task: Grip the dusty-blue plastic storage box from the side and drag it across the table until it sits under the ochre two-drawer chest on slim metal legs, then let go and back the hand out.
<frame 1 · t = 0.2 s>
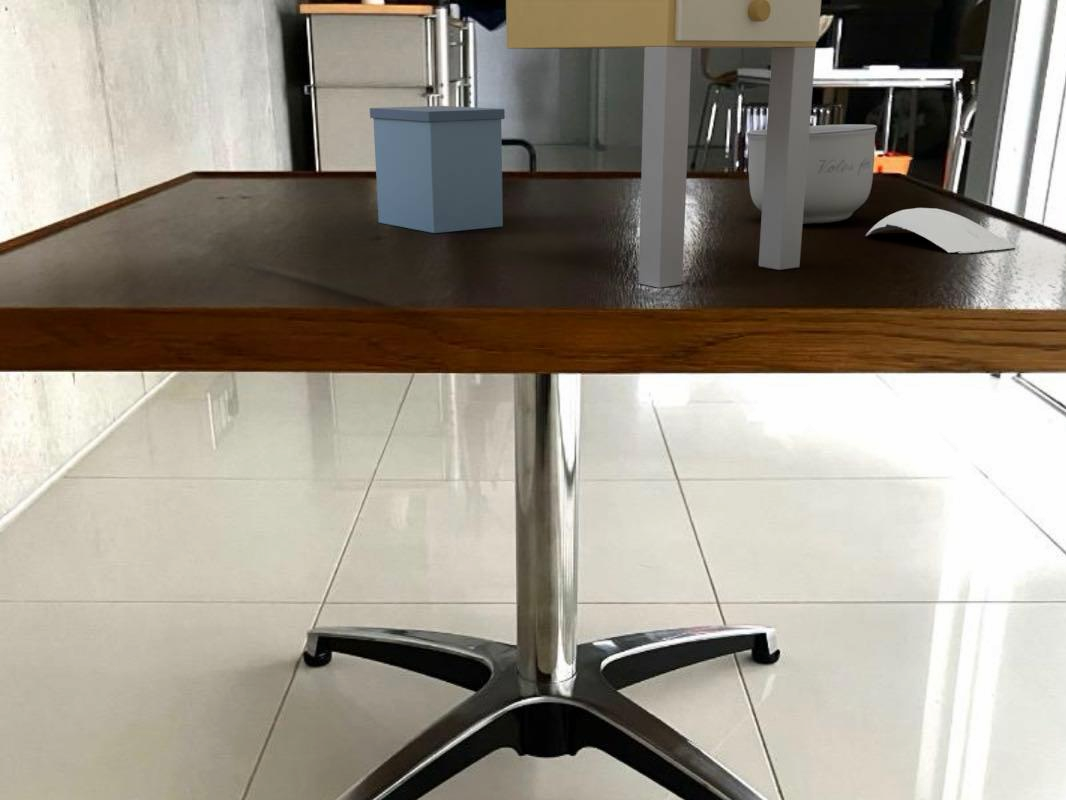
drawer chest: (650, 262, 86), on the table
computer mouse: (937, 244, 95), on the table
teacup: (813, 221, 108), on the table
storage box: (439, 224, 106), on the table
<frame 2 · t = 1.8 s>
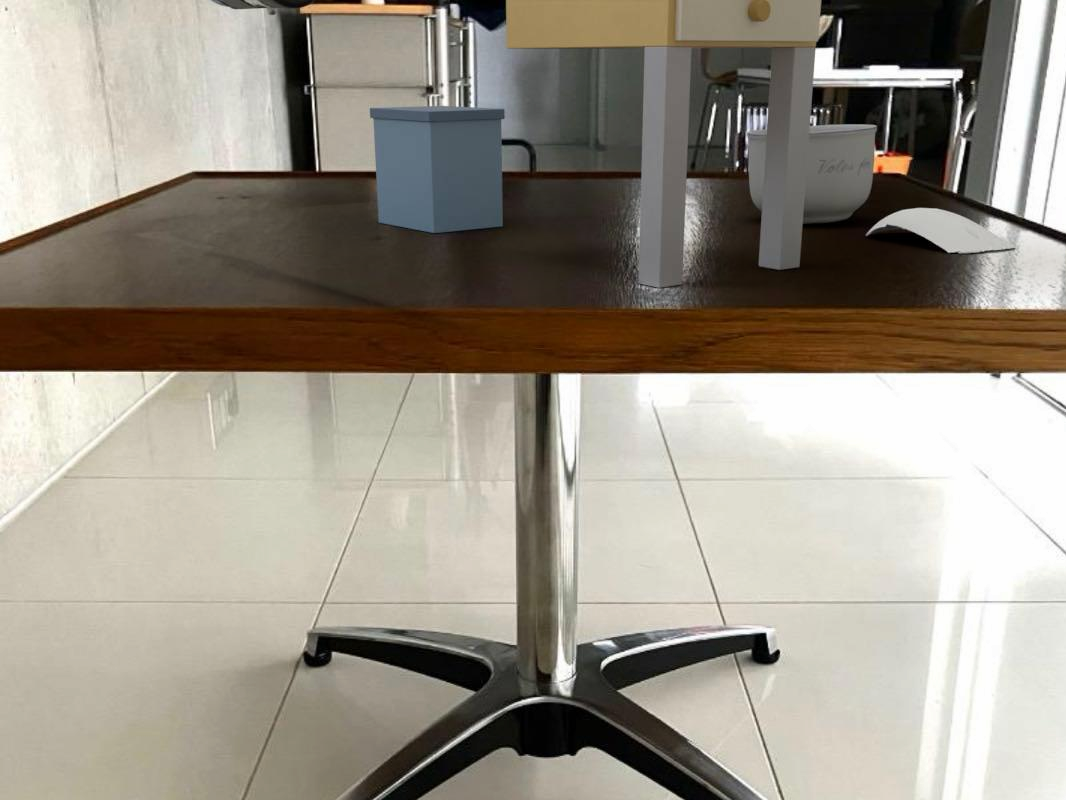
nothing on the table moved.
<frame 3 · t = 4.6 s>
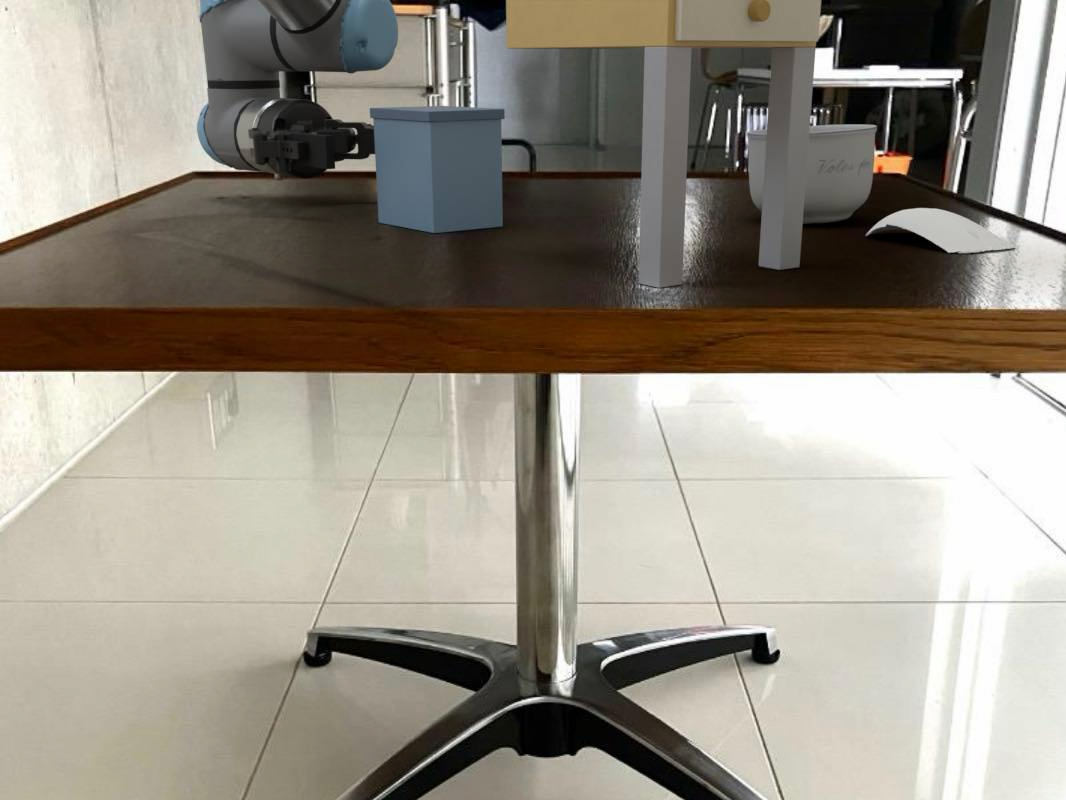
hand: (398, 149, 108), 6 cm above the table, tool horizontal, fingers open, 13 cm apart
nothing on the table moved.
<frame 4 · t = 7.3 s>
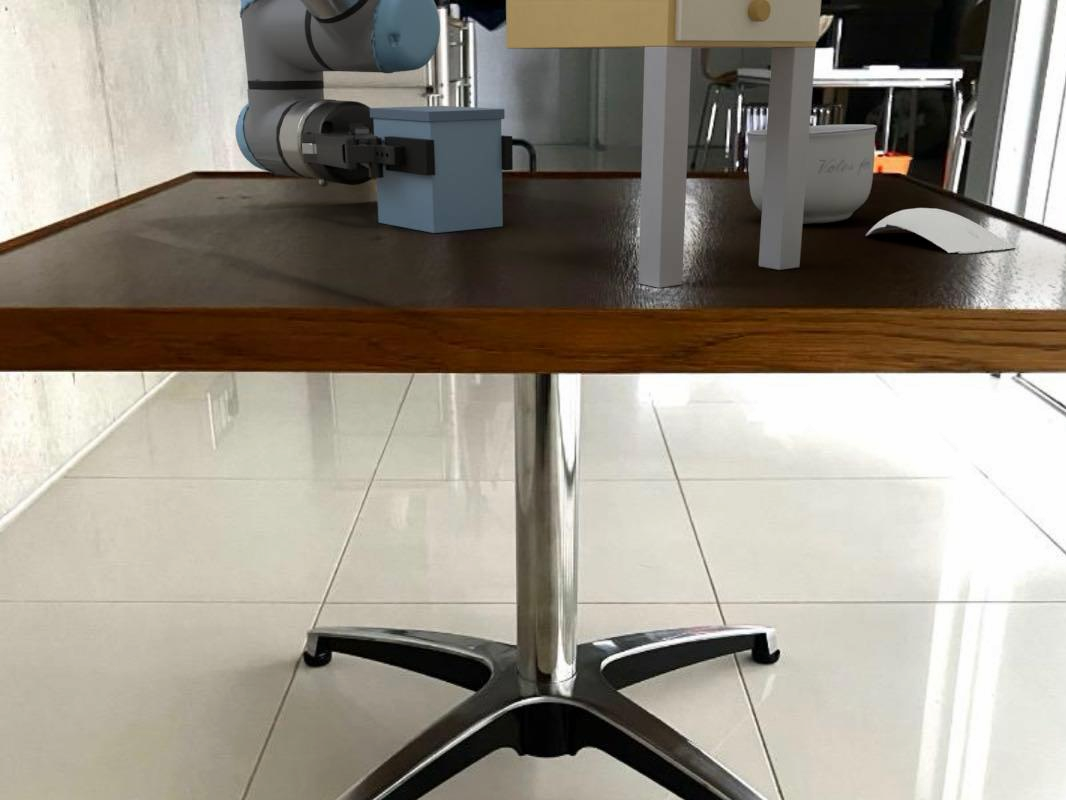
hand: (470, 155, 100), 6 cm above the table, tool horizontal, fingers closed on storage box, 7 cm apart
storage box: (439, 224, 106), on the table, touching gripper
everything else where it was.
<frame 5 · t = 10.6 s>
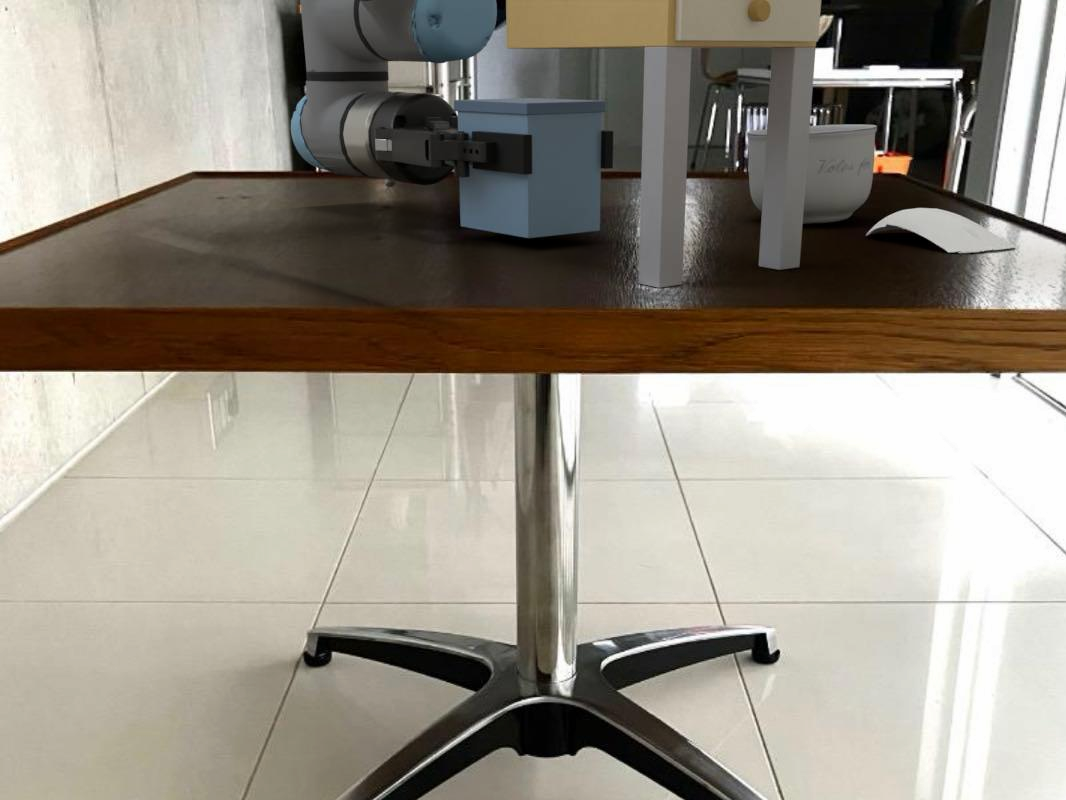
hand: (569, 152, 90), 7 cm above the table, tool horizontal, fingers closed on storage box, 7 cm apart
storage box: (529, 228, 96), point 1 cm above the table, touching gripper
everything else where it was.
when the fingers open (6 cm above the table, at t = 14.2 s): storage box stays where it is, on the table.
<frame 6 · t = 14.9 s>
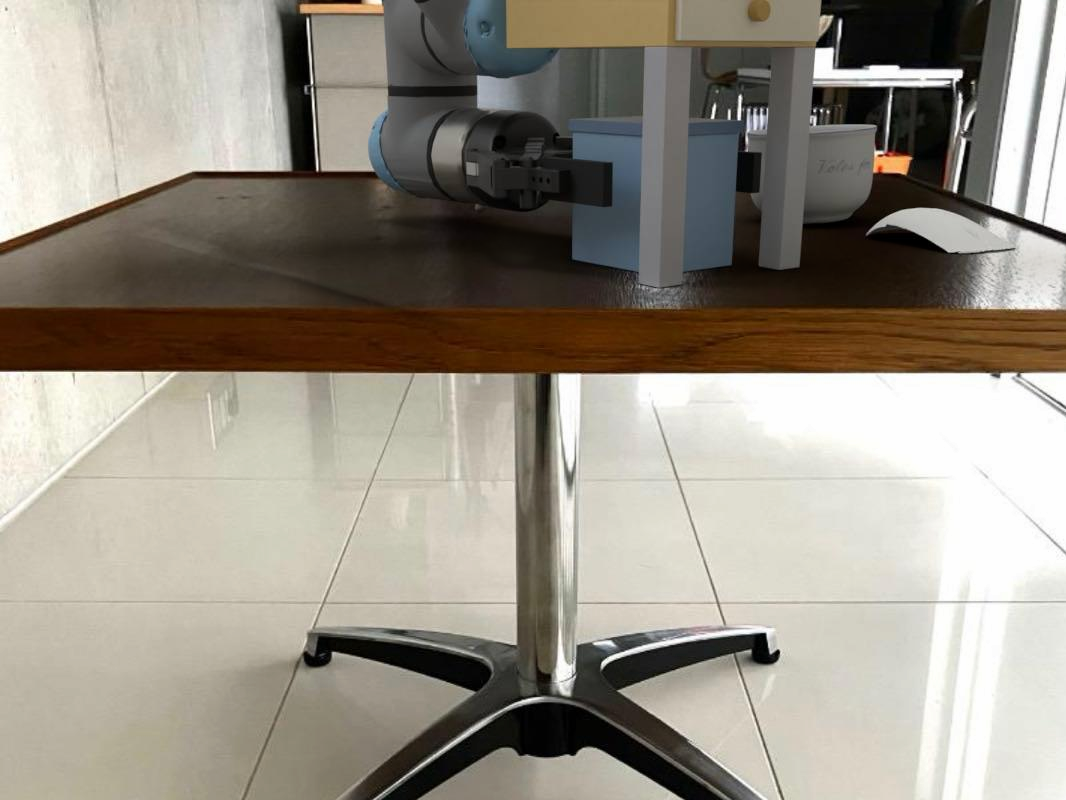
hand: (686, 178, 81), 6 cm above the table, tool horizontal, fingers open, 13 cm apart
storage box: (650, 262, 86), on the table
everything else where it was.
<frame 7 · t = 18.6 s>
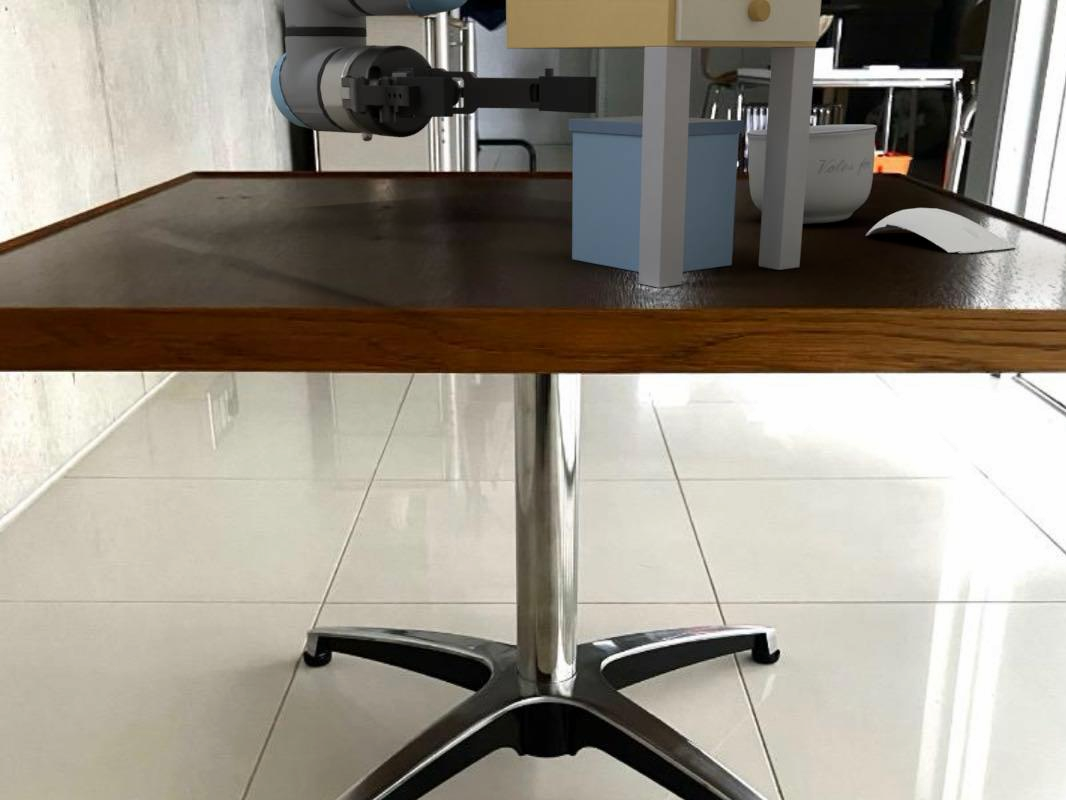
hand: (523, 96, 93), 11 cm above the table, tool horizontal, fingers open, 13 cm apart
nothing on the table moved.
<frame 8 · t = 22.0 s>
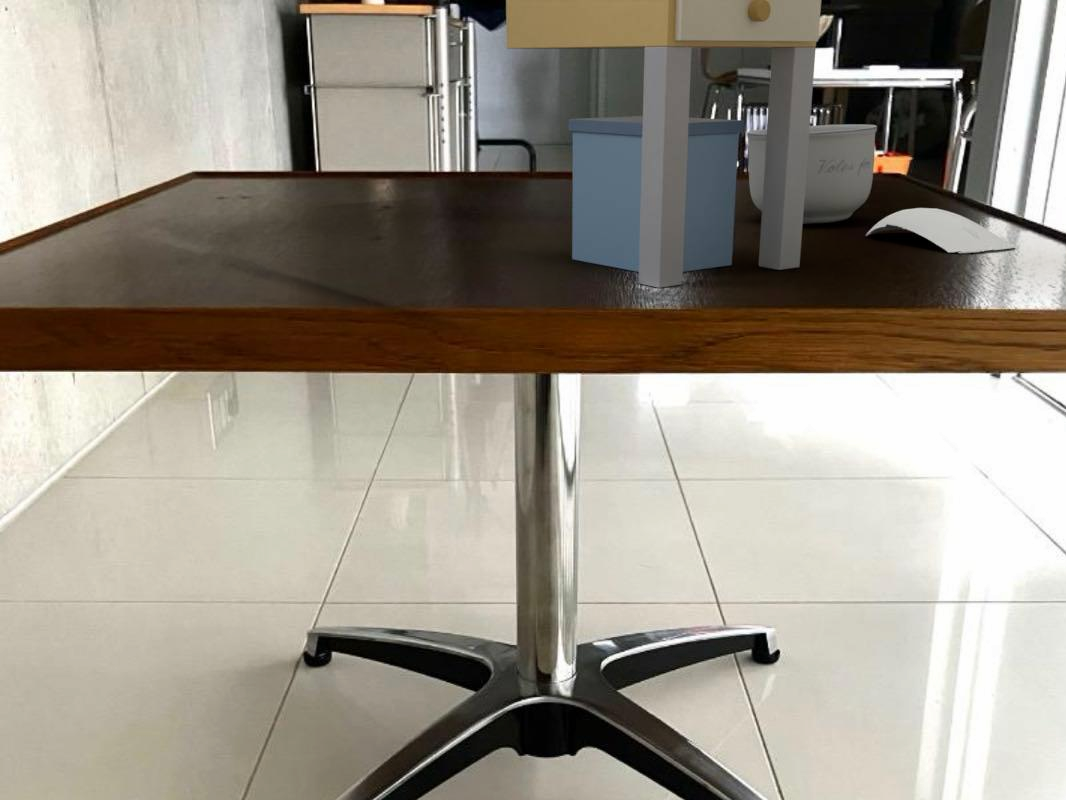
nothing on the table moved.
at the end: storage box 0.0 cm off-centre on the drawer chest, point 0.0 cm above the drawer chest's base; storage box tilted 0°; the gripper is holding nothing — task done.
